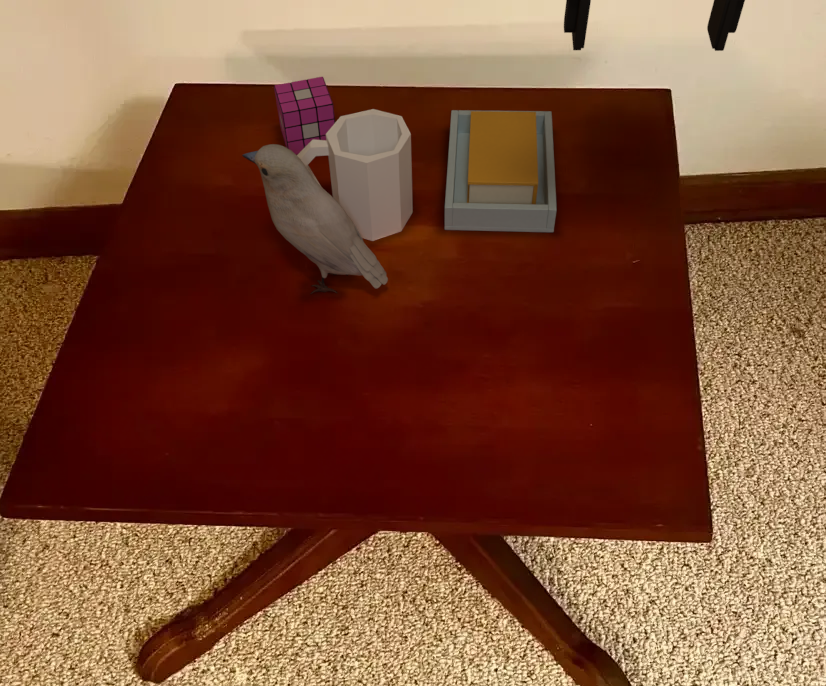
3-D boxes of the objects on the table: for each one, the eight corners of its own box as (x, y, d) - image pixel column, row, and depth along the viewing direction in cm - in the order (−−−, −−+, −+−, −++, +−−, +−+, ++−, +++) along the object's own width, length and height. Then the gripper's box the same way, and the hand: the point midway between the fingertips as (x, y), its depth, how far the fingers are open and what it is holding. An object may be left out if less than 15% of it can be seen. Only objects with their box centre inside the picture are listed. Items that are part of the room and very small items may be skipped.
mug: (414, 187, 94) (412, 108, 87) (410, 241, 89) (408, 163, 81) (304, 186, 96) (293, 109, 88) (294, 240, 90) (281, 162, 83)
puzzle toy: (280, 127, 103) (273, 84, 98) (327, 118, 103) (323, 75, 99) (288, 156, 99) (282, 113, 95) (337, 147, 100) (333, 103, 95)
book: (534, 213, 90) (538, 182, 87) (466, 212, 91) (467, 181, 88) (532, 142, 97) (536, 111, 94) (469, 141, 98) (470, 111, 95)
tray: (548, 133, 99) (551, 110, 97) (553, 232, 89) (556, 210, 86) (451, 132, 100) (451, 109, 98) (444, 230, 90) (444, 207, 88)
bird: (275, 248, 90) (252, 124, 78) (397, 279, 86) (391, 154, 74) (253, 279, 87) (225, 156, 75) (378, 314, 83) (368, 189, 71)
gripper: (549, -212, 48) (524, 69, 61) (881, -221, 46) (780, 70, 59) (545, -257, 52) (523, 13, 66) (847, -267, 51) (761, 13, 64)
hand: (645, 40), depth 63 cm, fingers open, 9 cm apart
